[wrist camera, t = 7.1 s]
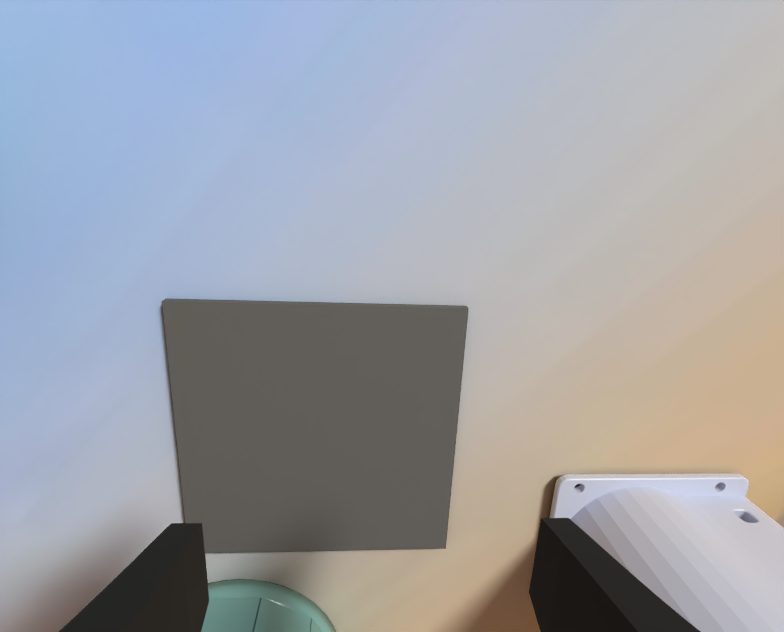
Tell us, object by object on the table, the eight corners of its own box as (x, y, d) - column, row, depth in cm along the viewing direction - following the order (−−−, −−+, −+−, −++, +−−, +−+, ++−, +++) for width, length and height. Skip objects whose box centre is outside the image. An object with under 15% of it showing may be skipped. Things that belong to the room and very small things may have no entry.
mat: (466, 305, 18) (468, 308, 18) (444, 542, 22) (445, 548, 21) (166, 298, 17) (161, 301, 17) (191, 546, 21) (188, 553, 20)
